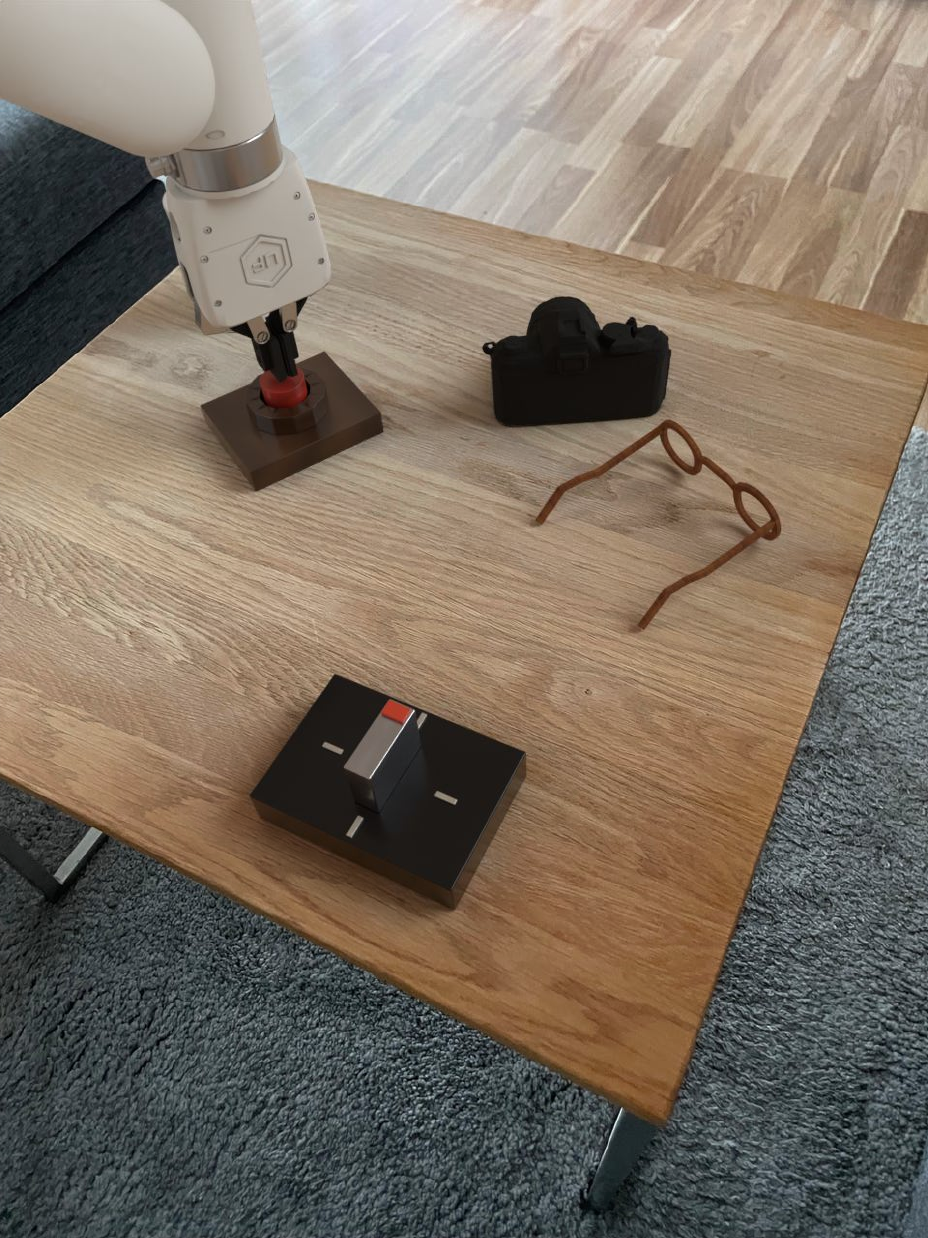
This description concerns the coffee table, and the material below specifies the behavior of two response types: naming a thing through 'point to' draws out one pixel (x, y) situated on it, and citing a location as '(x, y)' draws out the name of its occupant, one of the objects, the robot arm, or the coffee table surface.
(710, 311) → the coffee table surface
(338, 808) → the black square plate
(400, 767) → the hob knob
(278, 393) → the button
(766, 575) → the coffee table surface
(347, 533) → the coffee table surface
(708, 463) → the glasses
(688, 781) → the coffee table surface
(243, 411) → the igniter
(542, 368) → the film camera
